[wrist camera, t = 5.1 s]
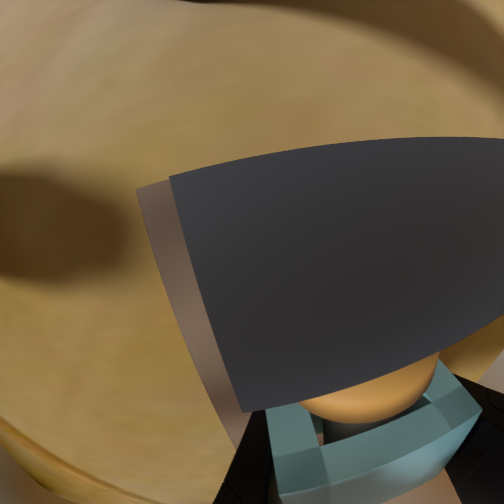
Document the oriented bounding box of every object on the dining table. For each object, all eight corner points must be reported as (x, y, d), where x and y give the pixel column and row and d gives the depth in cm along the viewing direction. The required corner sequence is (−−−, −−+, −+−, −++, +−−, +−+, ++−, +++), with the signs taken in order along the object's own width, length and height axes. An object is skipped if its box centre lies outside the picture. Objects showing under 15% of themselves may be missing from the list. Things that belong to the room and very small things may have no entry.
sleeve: (387, 391, 9) (436, 476, 5) (275, 424, 9) (295, 528, 5) (396, 314, 8) (482, 409, 4) (256, 353, 8) (278, 494, 4)
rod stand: (386, 440, 15) (418, 508, 9) (256, 476, 15) (265, 554, 9) (407, 140, 9) (561, 146, 2) (145, 186, 9) (-4, 242, 2)
